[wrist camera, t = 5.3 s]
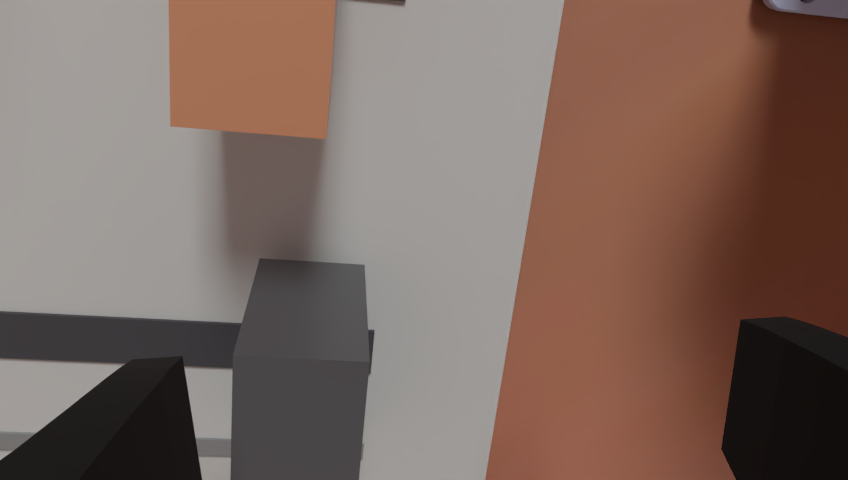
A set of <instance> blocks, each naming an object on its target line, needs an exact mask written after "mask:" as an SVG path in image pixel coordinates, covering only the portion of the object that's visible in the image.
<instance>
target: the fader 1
mask: <svg viewBox="0 0 848 480" xmlns="http://www.w3.org/2000/svg"><path fill="white" fill-rule="evenodd" d="M336 14H337V0H169V67H170V126H171V127H183V128H195V129H208V130H220V131H232V132H245V133H257V134H269V135H282V136H294V137H306V138H319V139H327V130H328V120H329V111H330V101H331V92H332V78H333V62H334V46H335V30H336Z"/></svg>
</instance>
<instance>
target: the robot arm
mask: <svg viewBox="0 0 848 480" xmlns="http://www.w3.org/2000/svg"><path fill="white" fill-rule="evenodd" d="M763 3H764V4H765V5H766V6H767V7H768V8H770V9H773V10H776V11H782V12H792V13H801V14H810V15H819V16H828V17H837V18H846V19H848V0H803V1H802V2H801V0H763ZM722 451H723V453H724V455H725V457H726V460H727V462H728V464H729V466H730V468H731V470H732V472H733V474H734V476H735V478H736V480H848V338H847V337H845V336H842V335H840V334H837V333H834V332H832V331H829V330H826V329H823V328H821V327H818V326H815V325H812V324H809V323H806V322H803V321H799V320H796V319H792V318H788V317H774V318H758V319H743V320H741V321H740V328H739V334H738V341H737V348H736V354H735V361H734V368H733V375H732V381H731V388H730V395H729V402H728V408H727V415H726V422H725V428H724V435H723V442H722ZM0 480H202V476H201V469H200V463H199V457H198V450H197V444H196V438H195V432H194V425H193V419H192V413H191V406H190V400H189V394H188V387H187V381H186V375H185V369H184V362H183V356H176V357H160V358H145V359H132V360H131V361H129V362H128V363H126V364H125V365H123V366H122V367H120V368H119V369H117V370H116V371H115V372H113V373H112V374H111V375H109V376H108V377H107V378H106V379H104V380H103V381H102V382H100V383H99V384H98V385H97V386H95V387H94V388H93V389H92V390H90V391H89V392H88V393H86V394H85V395H84V396H83V397H81V398H80V399H79V400H78V401H76V402H75V403H74V404H73V405H71V406H70V407H69V408H68V409H66V410H65V411H64V412H62V413H61V414H60V415H59V416H57V417H56V418H55V419H53V420H52V421H51V422H50V423H48V424H47V425H46V426H45V427H43V428H42V429H41V430H39V431H38V432H37V433H36V434H34V435H33V436H32V437H30V438H29V439H28V440H27V441H25V442H24V443H23V444H21V445H20V446H19V447H18V448H16V449H15V450H14V451H12V452H11V453H9V454H8V455H7V456H5V457H4V458H2V459H1V460H0Z"/></svg>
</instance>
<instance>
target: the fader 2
mask: <svg viewBox="0 0 848 480" xmlns="http://www.w3.org/2000/svg"><path fill="white" fill-rule="evenodd" d="M369 365H370V357H369V338H368V319H367V300H366V282H365V265H361V264H345V263H328V262H312V261H296V260H279V259H263V258H260V259H259V263H258V266H257V270H256V273H255V277H254V281H253V284H252V288H251V292H250V295H249V299H248V302H247V306H246V310H245V313H244V317H243V320H242V324H241V328H240V331H239V335H238V339H237V342H236V346H235V349H234V353H233V369H232V422H231V475H230V480H359V473H360V462H361V451H362V440H363V430H364V419H365V408H366V397H367V386H368V376H369Z"/></svg>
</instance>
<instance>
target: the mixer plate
mask: <svg viewBox="0 0 848 480" xmlns="http://www.w3.org/2000/svg"><path fill="white" fill-rule="evenodd" d="M563 4H564V0H337V14H336V30H335V46H334V62H333V78H332V92H331V101H330V111H329V120H328V130H327V139H319V138H306V137H294V136H282V135H269V134H257V133H245V132H232V131H220V130H208V129H195V128H183V127H171V126H170V67H169V0H0V460H1V459H2V458H4V457H5V456H7V455H8V454H9V453H11V452H12V451H14V450H15V449H16V448H18V447H19V446H20V445H21V444H23V443H24V442H25V441H27V440H28V439H29V438H30V437H32V436H33V435H34V434H36V433H37V432H38V431H39V430H41V429H42V428H43V427H45V426H46V425H47V424H48V423H50V422H51V421H52V420H53V419H55V418H56V417H57V416H59V415H60V414H61V413H62V412H64V411H65V410H66V409H68V408H69V407H70V406H71V405H73V404H74V403H75V402H76V401H78V400H79V399H80V398H81V397H83V396H84V395H85V394H86V393H88V392H89V391H90V390H92V389H93V388H94V387H95V386H97V385H98V384H99V383H100V382H102V381H103V380H104V379H106V378H107V377H108V376H109V375H111V374H112V373H113V372H115V371H116V370H117V369H119V368H120V367H122V366H123V365H125V364H126V363H128V362H129V361H131V360H132V359H145V358H160V357H176V356H183V362H184V369H185V375H186V381H187V387H188V394H189V400H190V406H191V413H192V419H193V425H194V432H195V438H196V444H197V450H198V457H199V463H200V469H201V476H202V480H230V475H231V422H232V369H233V353H234V349H235V346H236V342H237V339H238V335H239V331H240V328H241V324H242V320H243V317H244V313H245V310H246V306H247V302H248V299H249V295H250V292H251V288H252V284H253V281H254V277H255V273H256V270H257V266H258V263H259V259H260V258H263V259H279V260H296V261H312V262H328V263H345V264H361V265H365V282H366V300H367V319H368V338H369V357H370V365H369V376H368V386H367V397H366V408H365V419H364V430H363V440H362V451H361V462H360V473H359V480H485V477H486V471H487V465H488V459H489V453H490V447H491V441H492V435H493V429H494V423H495V416H496V410H497V404H498V398H499V392H500V386H501V380H502V374H503V368H504V362H505V356H506V350H507V344H508V338H509V332H510V326H511V319H512V313H513V307H514V301H515V295H516V289H517V283H518V277H519V271H520V265H521V259H522V253H523V247H524V241H525V235H526V229H527V222H528V216H529V210H530V204H531V198H532V192H533V186H534V180H535V174H536V168H537V162H538V156H539V150H540V144H541V138H542V132H543V125H544V119H545V113H546V107H547V101H548V95H549V89H550V83H551V77H552V71H553V65H554V59H555V53H556V47H557V41H558V35H559V29H560V22H561V16H562V10H563Z"/></svg>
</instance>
